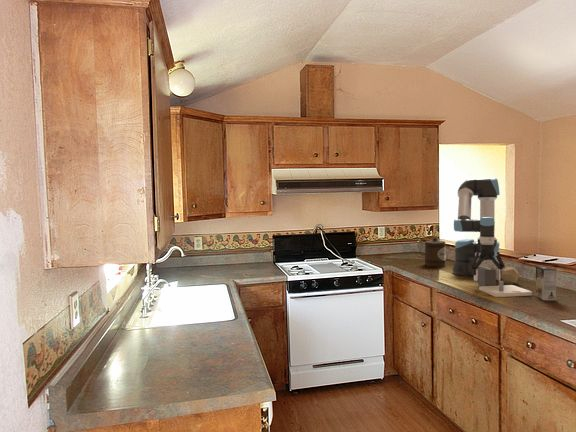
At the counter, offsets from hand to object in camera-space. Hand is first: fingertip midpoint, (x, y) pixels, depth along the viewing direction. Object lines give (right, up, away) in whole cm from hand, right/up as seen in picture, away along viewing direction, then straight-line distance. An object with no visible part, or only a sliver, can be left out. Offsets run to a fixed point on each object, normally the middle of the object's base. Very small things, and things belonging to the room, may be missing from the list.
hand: (487, 280), depth 230 cm
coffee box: (+18, -6, -24) cm, 31 cm away
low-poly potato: (+17, -4, +10) cm, 19 cm away
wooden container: (-3, -1, +74) cm, 74 cm away
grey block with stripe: (0, -4, 0) cm, 4 cm away
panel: (+4, -5, -11) cm, 13 cm away
